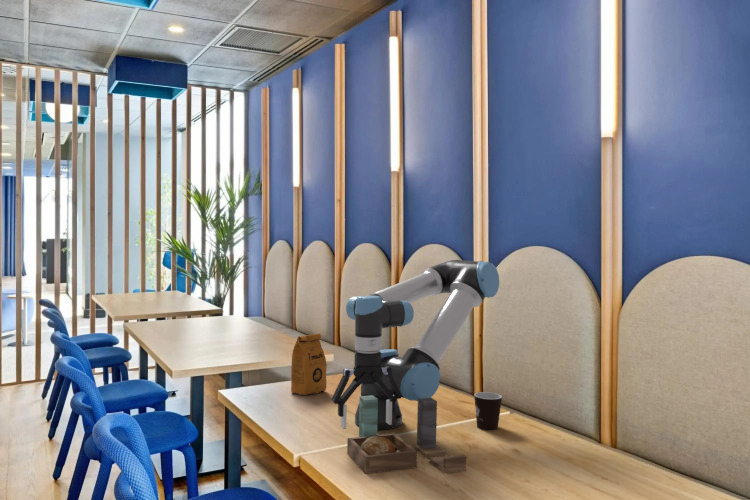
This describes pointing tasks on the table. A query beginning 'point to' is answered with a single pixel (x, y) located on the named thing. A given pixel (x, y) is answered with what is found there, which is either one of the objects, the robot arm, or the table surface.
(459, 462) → the strip
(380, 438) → the bread roll
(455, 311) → the robot arm
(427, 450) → the grey tall block
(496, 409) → the coffee mug
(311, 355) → the coffee package
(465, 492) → the table surface
